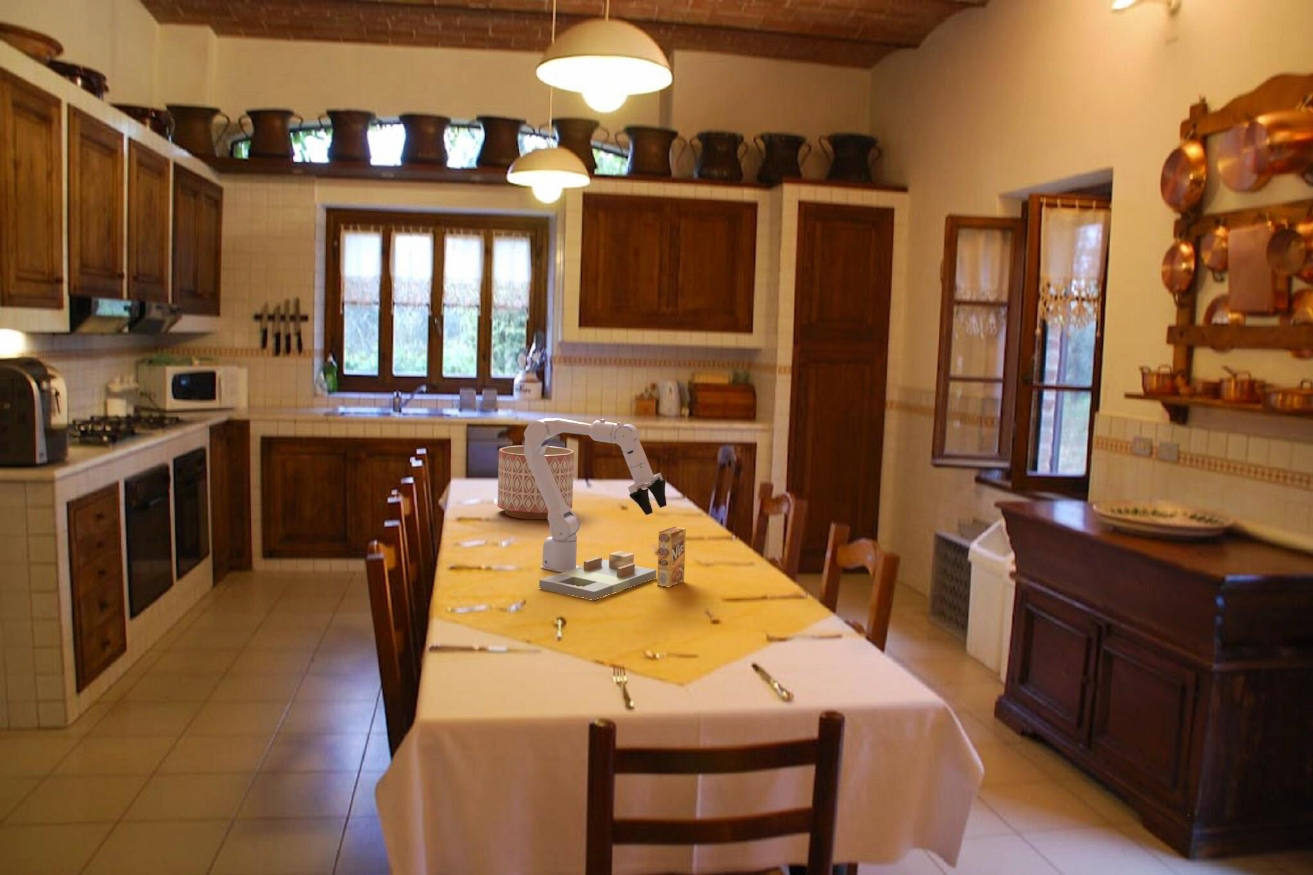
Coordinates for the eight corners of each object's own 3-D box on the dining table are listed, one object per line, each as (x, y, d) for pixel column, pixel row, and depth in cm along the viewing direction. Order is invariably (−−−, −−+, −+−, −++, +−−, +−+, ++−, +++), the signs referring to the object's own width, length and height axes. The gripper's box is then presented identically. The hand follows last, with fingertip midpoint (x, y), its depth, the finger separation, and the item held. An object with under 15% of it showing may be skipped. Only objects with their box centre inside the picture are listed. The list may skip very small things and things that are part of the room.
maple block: (608, 567, 280) (609, 553, 280) (618, 564, 285) (619, 550, 284) (623, 570, 278) (624, 556, 277) (633, 567, 282) (633, 553, 281)
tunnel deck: (539, 588, 265) (539, 570, 264) (604, 567, 290) (604, 551, 289) (593, 601, 255) (594, 582, 255) (656, 578, 280) (656, 561, 280)
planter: (488, 508, 372) (490, 445, 370) (557, 505, 384) (559, 444, 381) (509, 522, 348) (511, 456, 345) (582, 519, 359) (584, 454, 357)
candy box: (669, 588, 271) (671, 533, 269) (655, 585, 273) (658, 531, 271) (684, 581, 278) (687, 528, 277) (671, 579, 280) (673, 526, 279)
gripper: (635, 467, 270) (654, 513, 270) (662, 455, 282) (680, 499, 282) (616, 474, 274) (634, 520, 274) (643, 462, 286) (661, 506, 286)
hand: (656, 510), depth 278 cm, fingers open, 7 cm apart
